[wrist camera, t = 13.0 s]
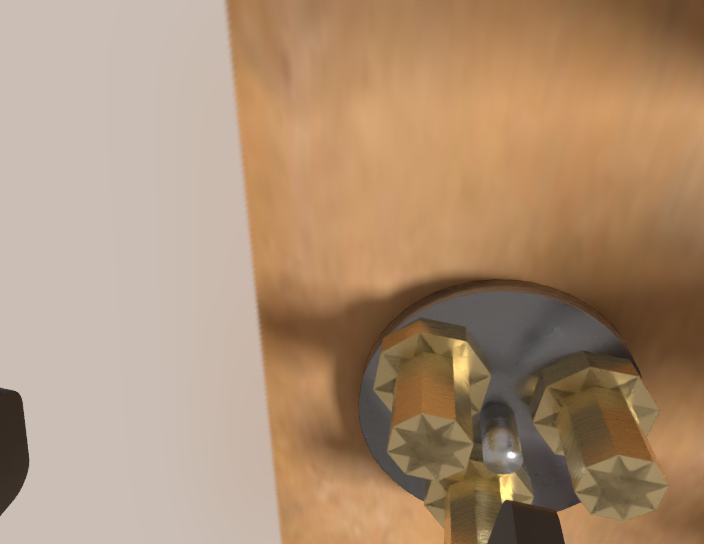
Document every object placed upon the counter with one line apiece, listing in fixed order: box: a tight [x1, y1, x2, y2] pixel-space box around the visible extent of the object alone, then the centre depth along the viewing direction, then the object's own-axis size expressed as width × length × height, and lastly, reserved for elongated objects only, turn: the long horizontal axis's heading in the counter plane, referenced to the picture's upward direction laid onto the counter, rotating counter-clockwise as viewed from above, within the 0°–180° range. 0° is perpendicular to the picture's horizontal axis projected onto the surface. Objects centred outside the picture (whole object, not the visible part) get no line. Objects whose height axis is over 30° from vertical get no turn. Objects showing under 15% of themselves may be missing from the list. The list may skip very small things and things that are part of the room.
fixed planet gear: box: [529, 350, 669, 521], centre depth 35 cm, size 7×7×8 cm
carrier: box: [359, 280, 642, 512], centre depth 39 cm, size 19×19×6 cm
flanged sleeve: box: [424, 443, 534, 544], centre depth 39 cm, size 7×7×8 cm
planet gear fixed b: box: [373, 317, 491, 481], centre depth 36 cm, size 7×7×8 cm
